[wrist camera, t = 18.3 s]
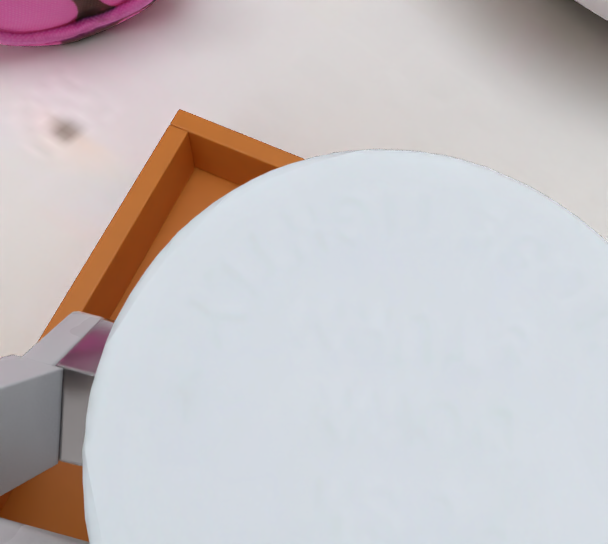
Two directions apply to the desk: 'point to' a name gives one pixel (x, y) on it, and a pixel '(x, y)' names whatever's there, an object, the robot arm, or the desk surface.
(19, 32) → the pencil case
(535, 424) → the pill bottle
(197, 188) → the amber tray
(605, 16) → the bowl
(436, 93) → the desk surface
